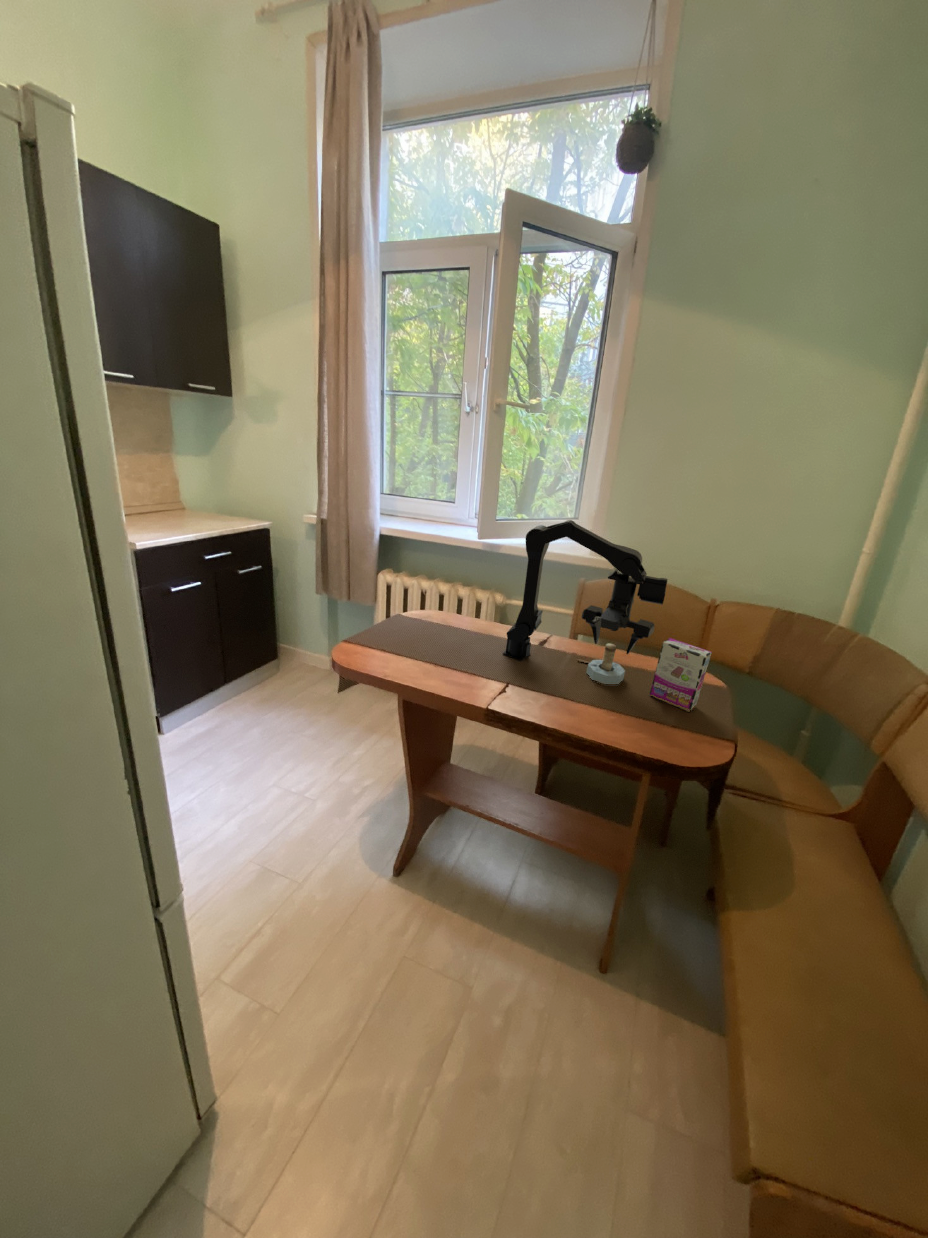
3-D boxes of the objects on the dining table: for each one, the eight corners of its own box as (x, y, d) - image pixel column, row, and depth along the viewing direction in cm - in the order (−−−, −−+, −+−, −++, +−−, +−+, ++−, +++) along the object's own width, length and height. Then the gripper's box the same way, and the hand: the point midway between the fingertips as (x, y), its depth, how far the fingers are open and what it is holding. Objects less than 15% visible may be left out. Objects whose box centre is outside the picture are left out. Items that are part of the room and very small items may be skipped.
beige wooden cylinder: (597, 676, 140) (604, 645, 136) (601, 673, 142) (608, 642, 138) (607, 680, 138) (614, 649, 134) (610, 676, 140) (617, 645, 136)
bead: (582, 676, 139) (584, 667, 138) (594, 665, 146) (596, 656, 145) (614, 688, 134) (617, 679, 133) (626, 676, 141) (628, 667, 140)
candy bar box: (696, 706, 129) (713, 651, 122) (689, 713, 125) (706, 657, 119) (655, 689, 135) (669, 636, 129) (648, 695, 132) (662, 641, 126)
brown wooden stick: (577, 661, 148) (578, 660, 147) (578, 660, 148) (578, 659, 148) (617, 671, 143) (618, 670, 143) (618, 670, 144) (618, 669, 144)
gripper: (578, 594, 129) (569, 647, 135) (648, 614, 119) (635, 669, 125) (594, 585, 138) (584, 635, 144) (660, 603, 128) (647, 655, 134)
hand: (611, 648), depth 136 cm, fingers open, 9 cm apart
